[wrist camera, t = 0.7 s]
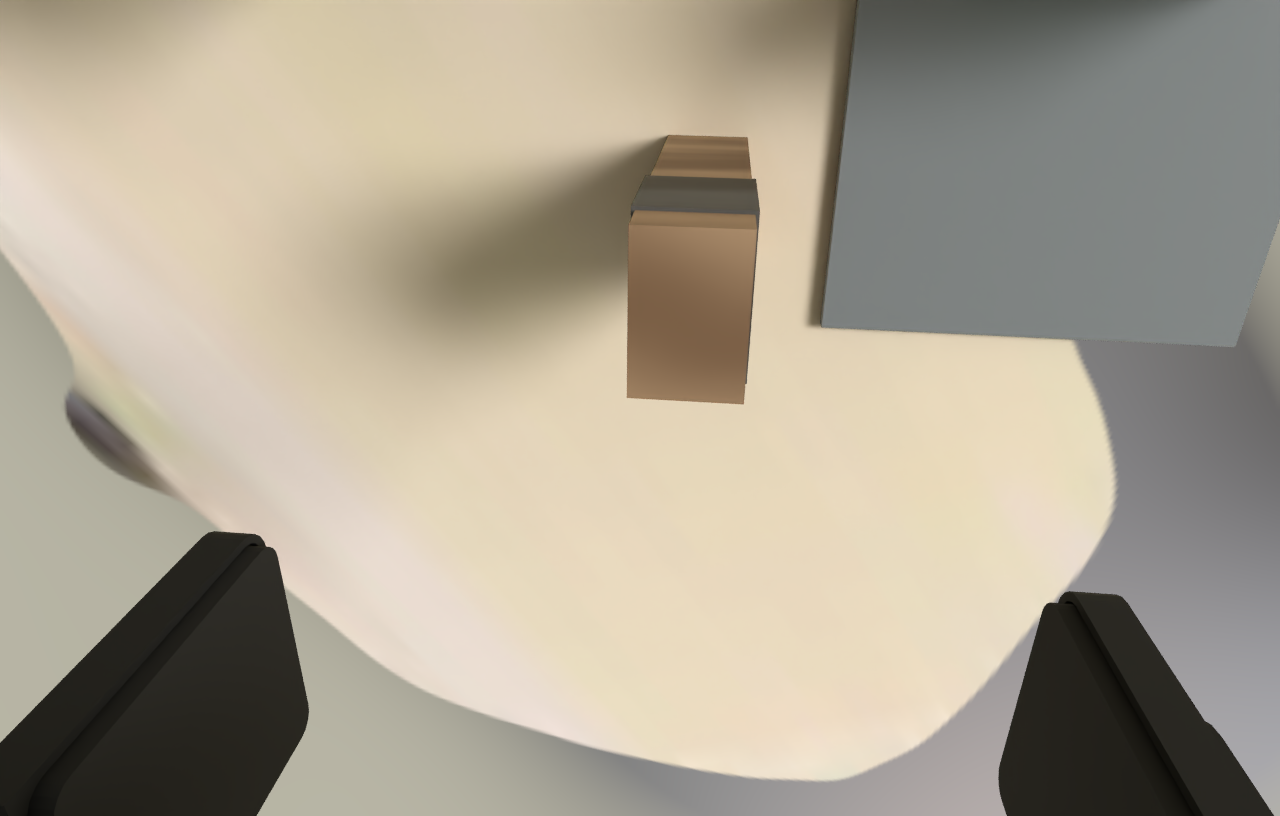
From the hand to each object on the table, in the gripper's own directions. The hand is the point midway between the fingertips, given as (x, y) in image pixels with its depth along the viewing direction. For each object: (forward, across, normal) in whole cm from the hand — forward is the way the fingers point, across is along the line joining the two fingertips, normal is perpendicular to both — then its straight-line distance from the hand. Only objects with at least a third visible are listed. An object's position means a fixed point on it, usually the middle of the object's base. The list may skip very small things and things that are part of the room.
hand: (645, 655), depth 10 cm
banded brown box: (+26, 0, 0) cm, 26 cm away
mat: (+26, -13, -3) cm, 29 cm away
